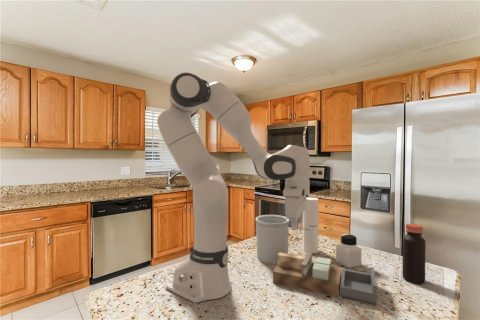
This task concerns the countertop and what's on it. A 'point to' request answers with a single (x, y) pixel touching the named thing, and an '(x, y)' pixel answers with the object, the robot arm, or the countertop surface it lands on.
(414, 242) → the vinegar
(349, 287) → the box
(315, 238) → the cylindrical container
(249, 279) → the countertop surface
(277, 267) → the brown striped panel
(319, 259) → the tile
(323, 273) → the tile
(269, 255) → the utensil holder
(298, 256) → the scraper
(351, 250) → the medicine bottle
